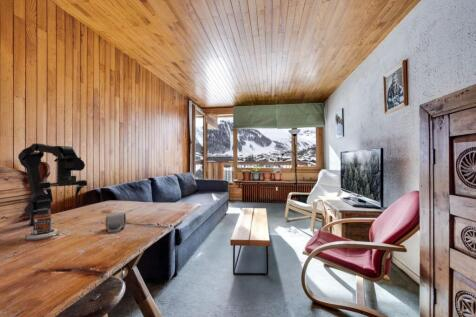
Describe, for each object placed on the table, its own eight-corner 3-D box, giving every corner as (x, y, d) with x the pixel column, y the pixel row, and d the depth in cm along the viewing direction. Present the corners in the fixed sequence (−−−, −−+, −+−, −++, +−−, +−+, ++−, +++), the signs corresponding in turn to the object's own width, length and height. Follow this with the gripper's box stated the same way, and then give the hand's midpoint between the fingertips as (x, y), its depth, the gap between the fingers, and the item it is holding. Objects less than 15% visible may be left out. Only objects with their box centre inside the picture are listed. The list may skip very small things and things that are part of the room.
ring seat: (25, 235, 95) (25, 231, 95) (57, 230, 103) (57, 226, 103) (24, 242, 87) (24, 238, 87) (59, 236, 94) (59, 232, 94)
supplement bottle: (35, 237, 91) (35, 211, 91) (31, 235, 94) (31, 209, 94) (53, 233, 96) (53, 208, 96) (48, 231, 99) (49, 207, 99)
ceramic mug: (107, 227, 107) (107, 212, 107) (126, 225, 110) (126, 210, 110) (103, 234, 97) (103, 217, 97) (123, 232, 101) (123, 216, 100)
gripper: (39, 171, 96) (38, 206, 96) (88, 170, 109) (88, 200, 109) (39, 170, 104) (39, 202, 104) (85, 169, 117) (85, 197, 117)
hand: (64, 200), depth 108 cm, fingers open, 9 cm apart
